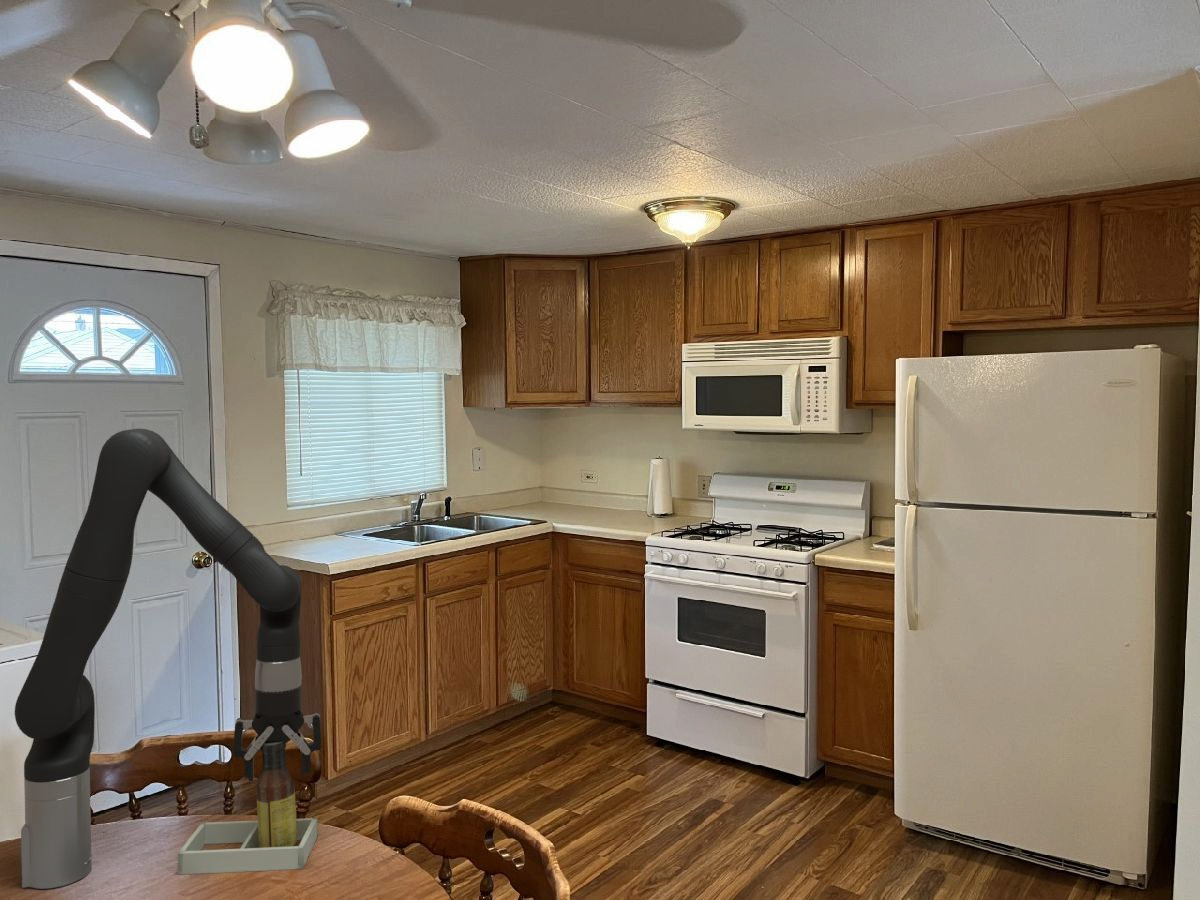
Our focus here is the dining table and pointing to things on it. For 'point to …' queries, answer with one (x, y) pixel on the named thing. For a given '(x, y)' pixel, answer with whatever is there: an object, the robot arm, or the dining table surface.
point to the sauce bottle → (276, 799)
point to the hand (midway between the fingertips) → (277, 777)
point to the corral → (243, 849)
